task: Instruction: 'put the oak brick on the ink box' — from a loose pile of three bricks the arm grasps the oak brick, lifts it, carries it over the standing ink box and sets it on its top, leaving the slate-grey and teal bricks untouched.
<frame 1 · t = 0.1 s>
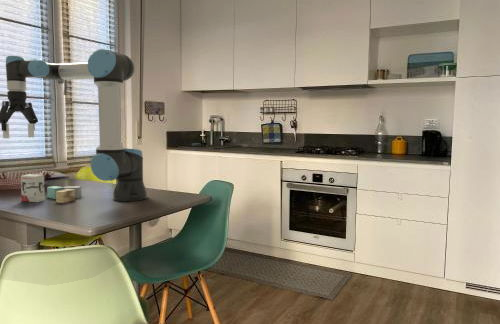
hand: (19, 137, 184), 28 cm above the table, fingers open, 13 cm apart
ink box: (33, 201, 179), on the table
brick teal: (55, 197, 187), on the table
brick grey: (72, 197, 188), on the table
brick oak: (65, 201, 179), on the table
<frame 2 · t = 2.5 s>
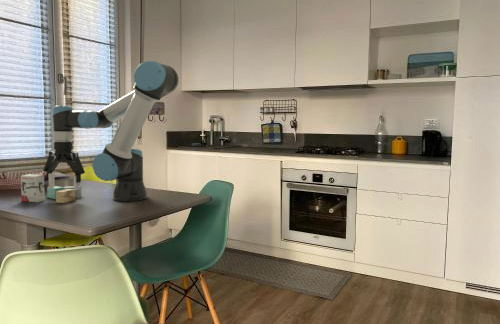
hand: (64, 188, 178), 6 cm above the table, fingers open, 13 cm apart
nothing on the table moved.
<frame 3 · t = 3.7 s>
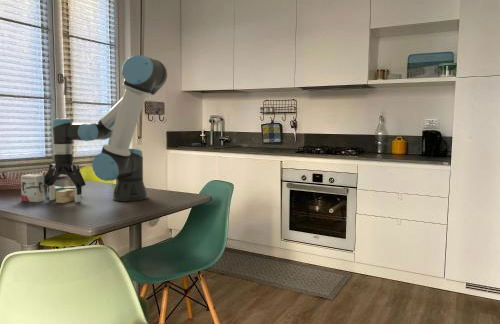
hand: (65, 200, 179), 0 cm above the table, fingers open, 13 cm apart
nothing on the table moved.
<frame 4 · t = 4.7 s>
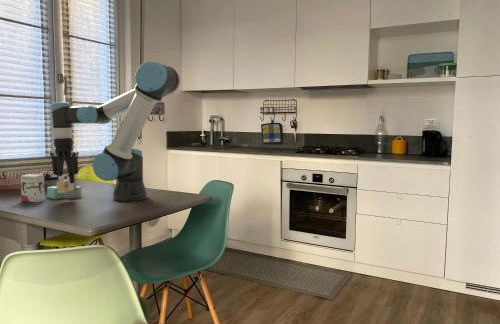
hand: (66, 190, 178), 5 cm above the table, fingers closed on brick oak, 4 cm apart
brick oak: (66, 191, 178), point 4 cm above the table, touching gripper
everything else where it was.
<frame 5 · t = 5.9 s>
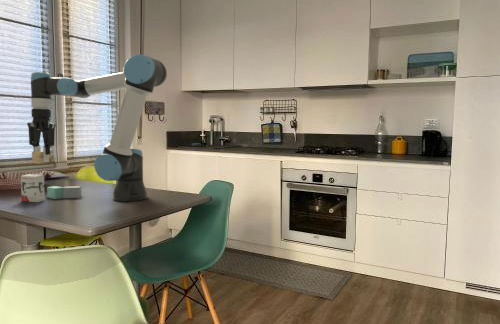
hand: (42, 161, 177), 18 cm above the table, fingers closed on brick oak, 4 cm apart
brick oak: (42, 162, 177), point 17 cm above the table, touching gripper
everything else where it was.
when the fingers open (12 cm above the table, at t = 7.6 s): brick oak moves 3 cm, resting on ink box.
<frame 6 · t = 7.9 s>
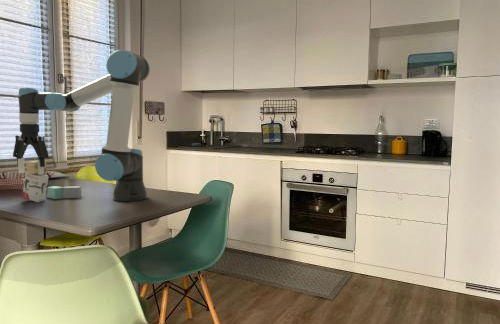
hand: (31, 173, 178), 12 cm above the table, fingers open, 10 cm apart
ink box: (33, 199, 179), point 1 cm above the table, touching brick oak, gripper
brick oak: (36, 172, 177), point 13 cm above the table, touching gripper, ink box
everything else where it was.
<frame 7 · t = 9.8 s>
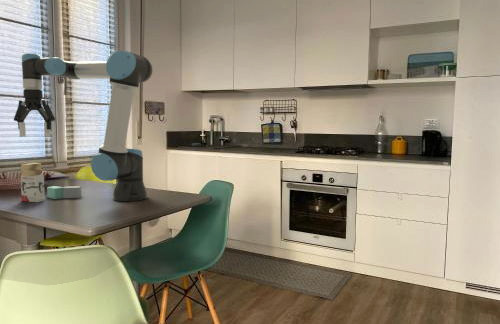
hand: (35, 136, 181), 28 cm above the table, fingers open, 13 cm apart
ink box: (33, 201, 179), on the table, touching brick oak
brick oak: (31, 174, 178), point 12 cm above the table, touching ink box
everything else where it was.
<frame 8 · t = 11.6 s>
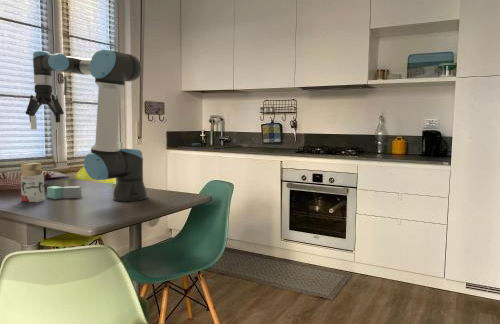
hand: (45, 129, 193), 32 cm above the table, fingers open, 13 cm apart
nothing on the table moved.
at the end: brick oak inside the target area on the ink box (0.2 cm from its centre), point 12.0 cm above the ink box's base; brick grey moved 0.2 cm from its start; brick teal moved 0.2 cm from its start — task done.
